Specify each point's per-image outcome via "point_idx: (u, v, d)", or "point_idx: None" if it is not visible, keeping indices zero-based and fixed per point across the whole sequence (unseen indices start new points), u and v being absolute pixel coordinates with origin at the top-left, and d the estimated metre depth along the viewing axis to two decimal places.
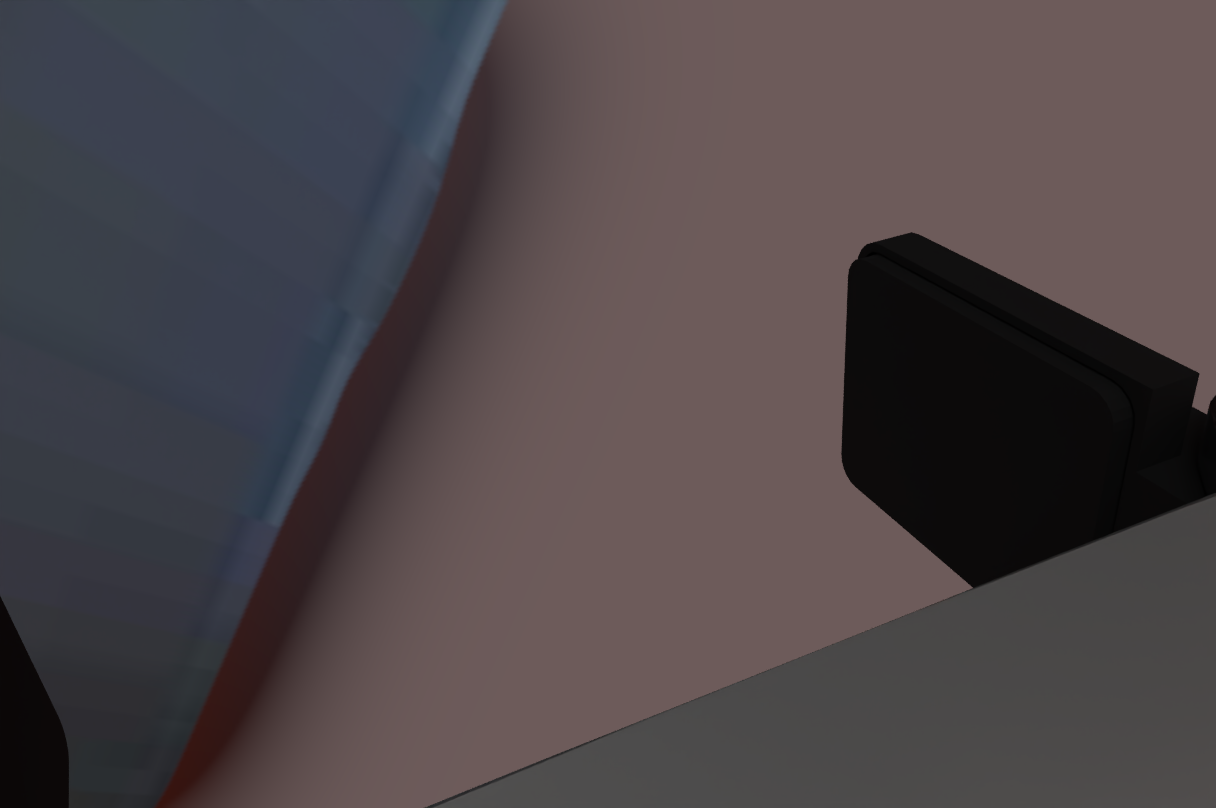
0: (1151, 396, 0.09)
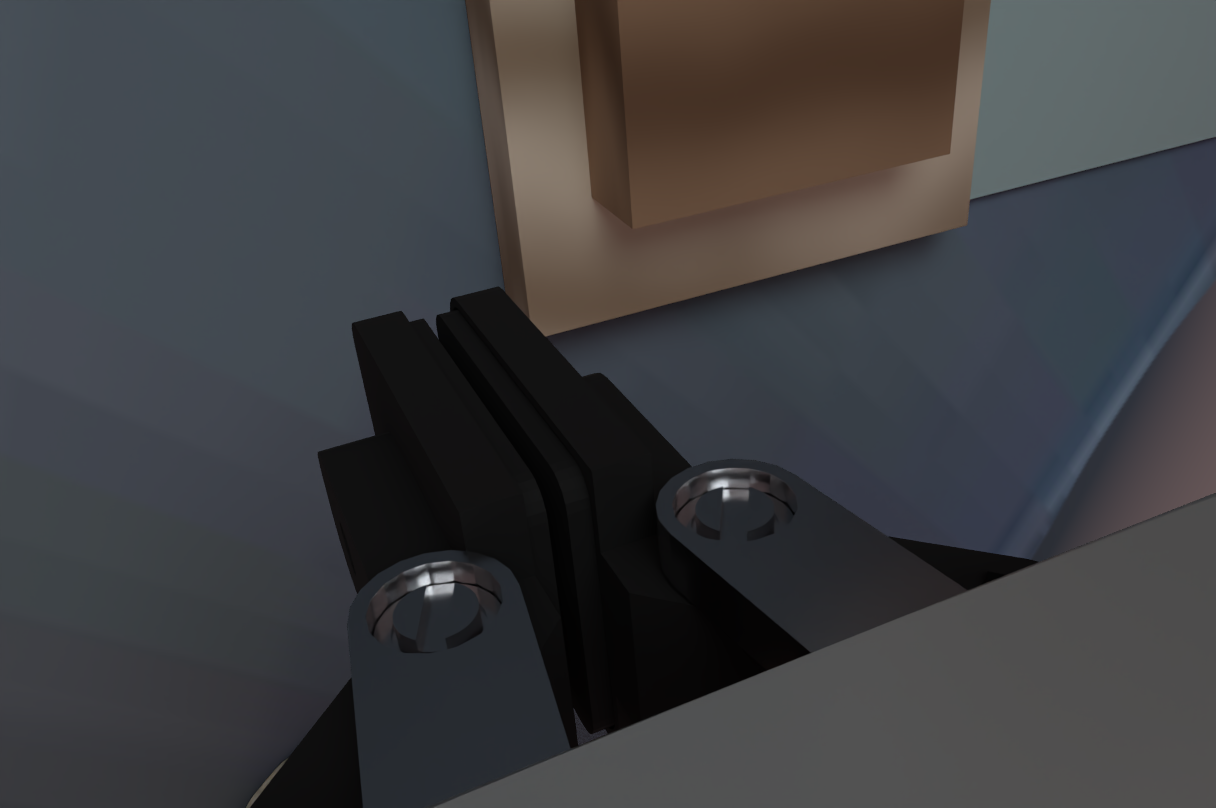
0: (594, 478, 0.08)
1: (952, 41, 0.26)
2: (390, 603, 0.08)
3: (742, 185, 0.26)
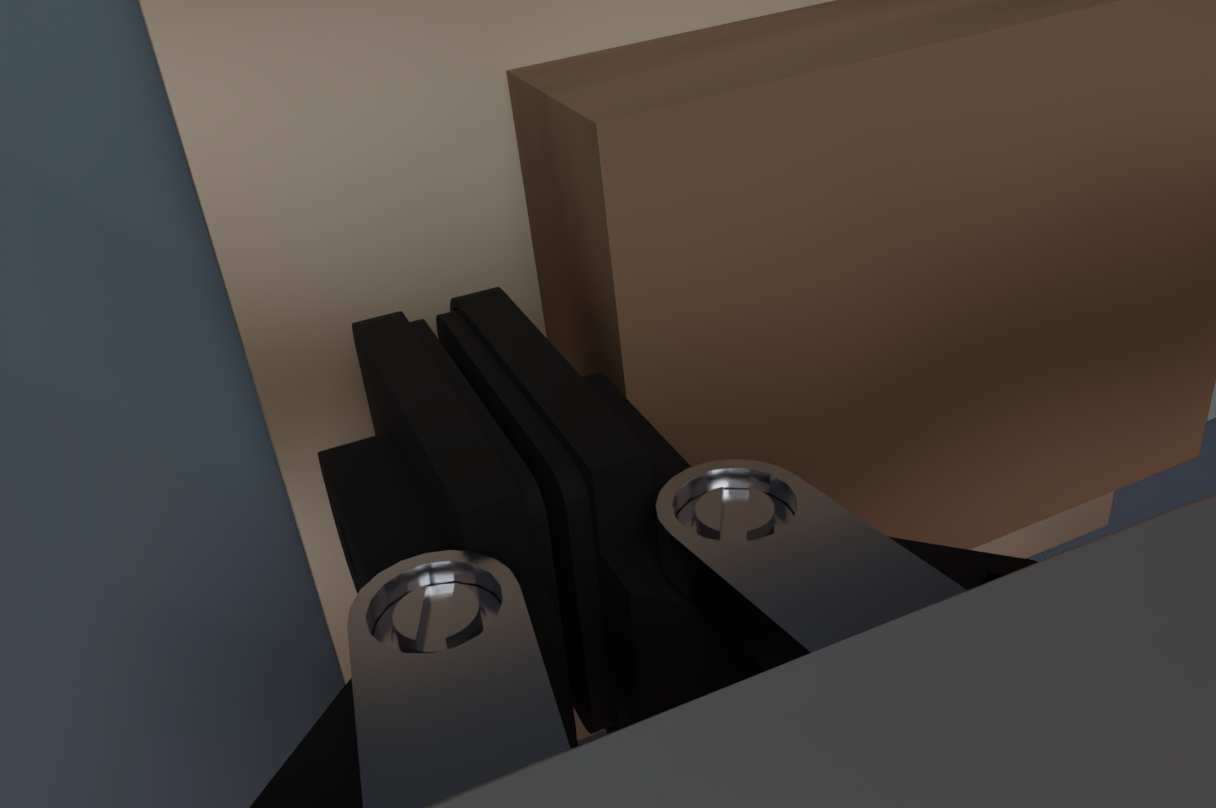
0: (595, 478, 0.08)
1: None
2: (390, 603, 0.08)
3: None
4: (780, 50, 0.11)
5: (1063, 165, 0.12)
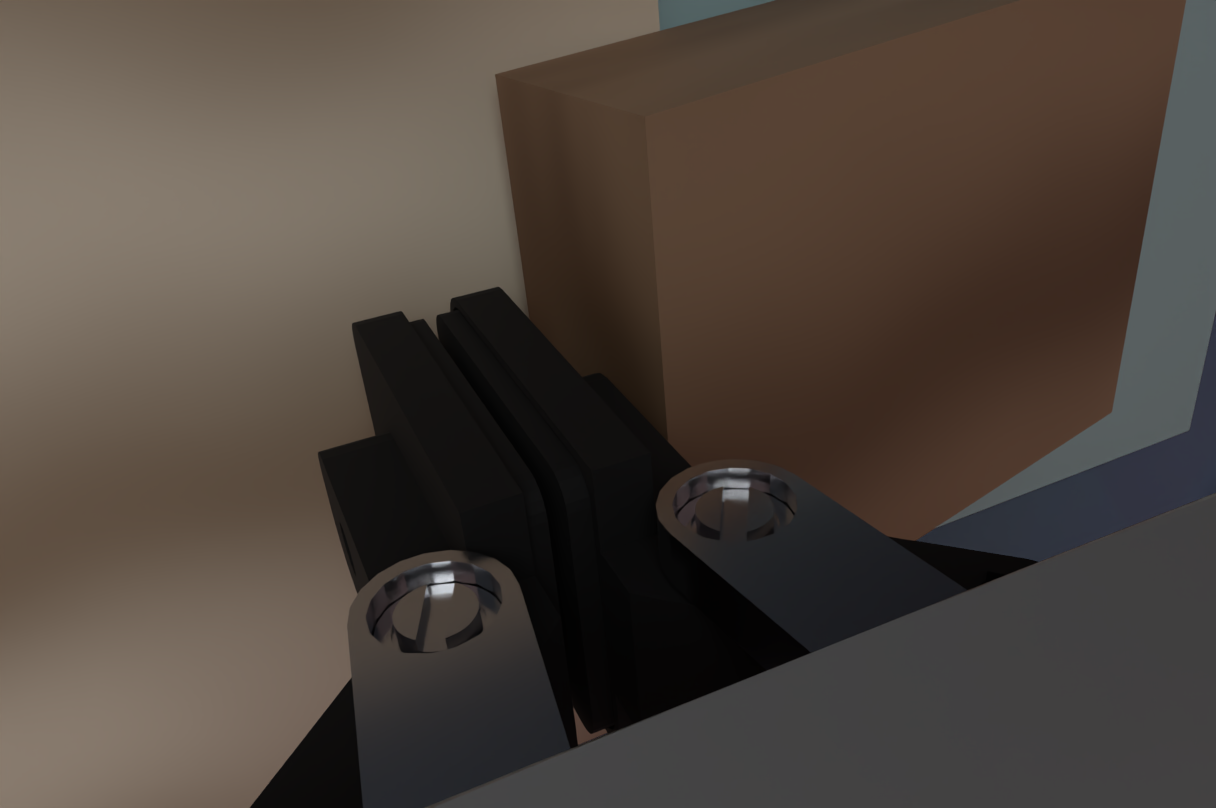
0: (595, 478, 0.08)
1: (1132, 252, 0.16)
2: (390, 603, 0.08)
3: None
4: (775, 42, 0.11)
5: (1019, 142, 0.13)
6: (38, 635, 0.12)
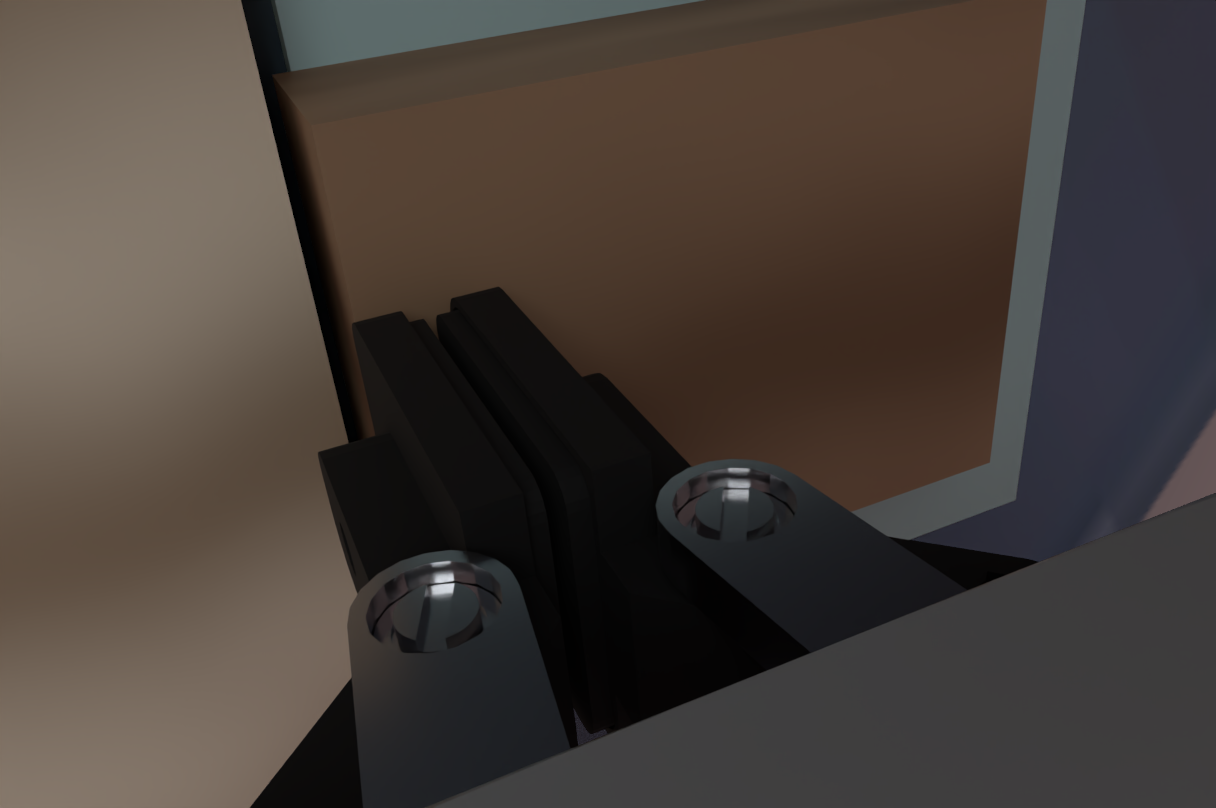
0: (595, 477, 0.08)
1: (996, 299, 0.15)
2: (390, 603, 0.08)
3: None
4: (523, 62, 0.12)
5: (811, 176, 0.13)
6: None
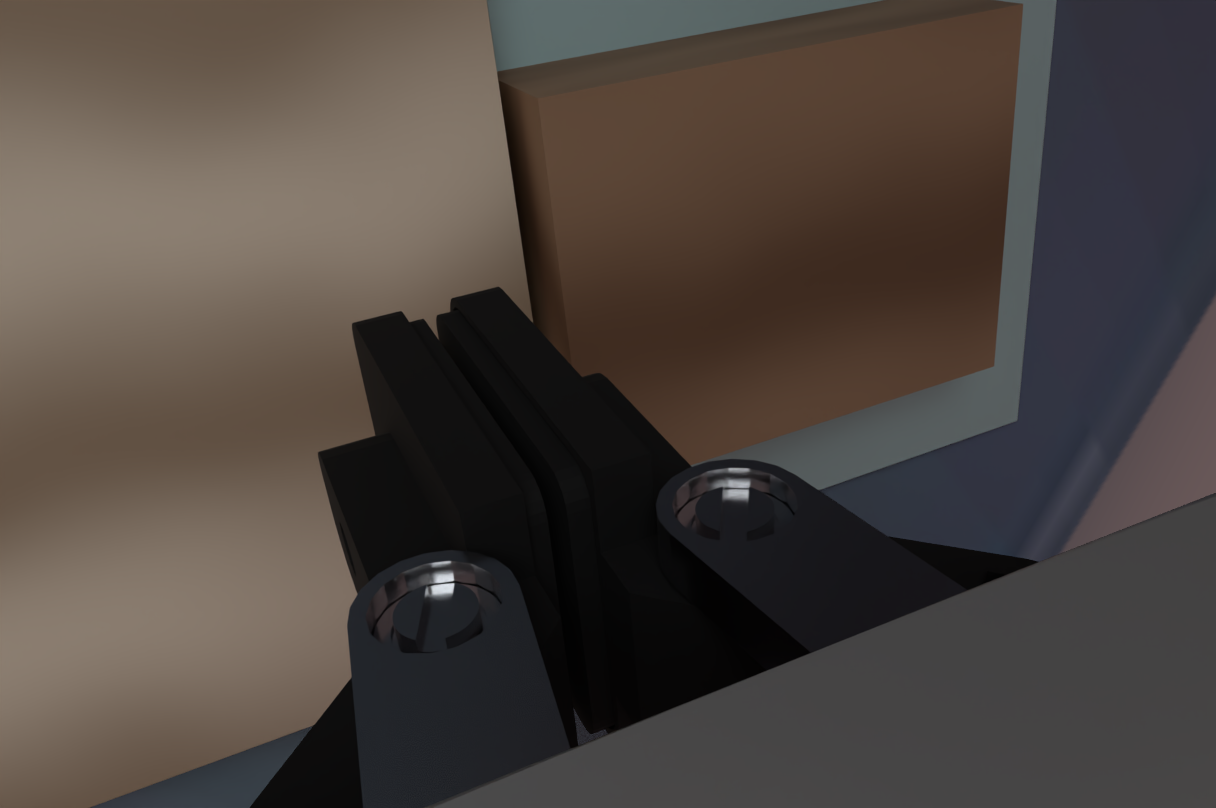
0: (594, 478, 0.08)
1: (994, 235, 0.20)
2: (390, 603, 0.08)
3: (731, 431, 0.20)
4: (662, 60, 0.17)
5: (859, 139, 0.18)
6: (25, 548, 0.16)
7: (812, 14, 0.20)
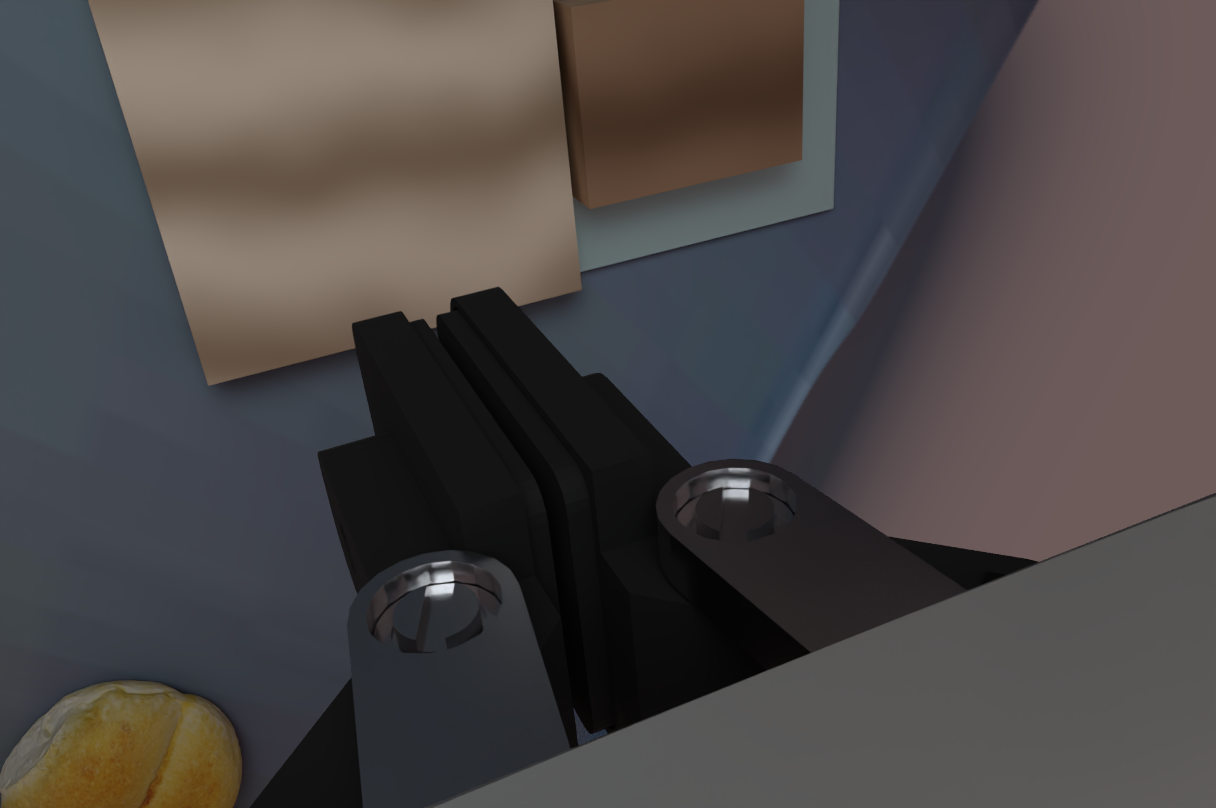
0: (595, 478, 0.08)
1: (797, 86, 0.40)
2: (390, 603, 0.08)
3: (660, 180, 0.40)
4: None
5: (723, 33, 0.38)
6: (337, 207, 0.36)
7: None
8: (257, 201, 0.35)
